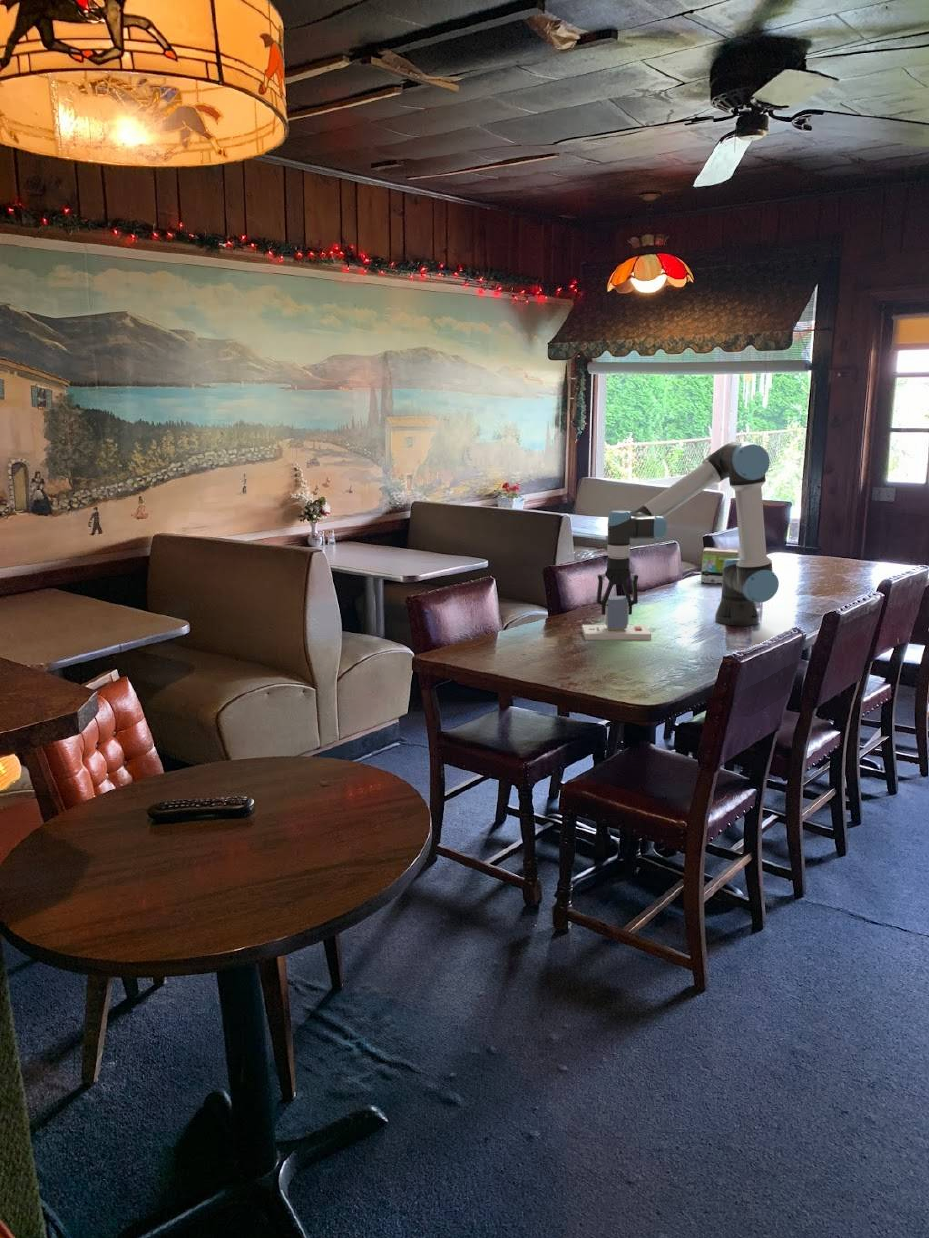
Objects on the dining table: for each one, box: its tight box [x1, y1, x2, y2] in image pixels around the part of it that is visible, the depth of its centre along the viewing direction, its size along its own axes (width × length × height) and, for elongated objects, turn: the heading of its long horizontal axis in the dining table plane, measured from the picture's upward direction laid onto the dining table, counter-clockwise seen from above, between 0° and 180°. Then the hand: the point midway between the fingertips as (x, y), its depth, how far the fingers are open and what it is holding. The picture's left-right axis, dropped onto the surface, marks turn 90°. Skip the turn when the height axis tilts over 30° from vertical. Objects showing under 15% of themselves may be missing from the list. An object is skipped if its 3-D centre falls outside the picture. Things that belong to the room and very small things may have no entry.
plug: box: [606, 595, 628, 631], centre depth 318 cm, size 6×6×12 cm
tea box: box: [700, 547, 740, 584], centre depth 411 cm, size 15×10×15 cm
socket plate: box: [581, 624, 652, 641], centre depth 319 cm, size 22×13×3 cm, turn 88°
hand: (616, 623), depth 318 cm, fingers closed on plug, 6 cm apart
